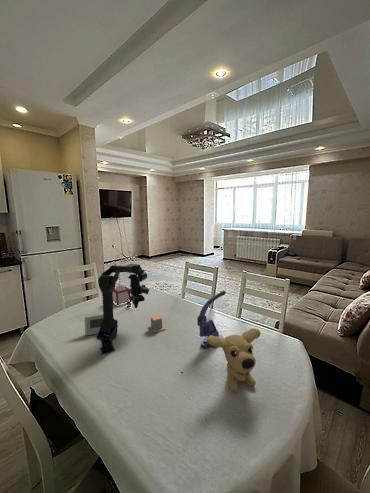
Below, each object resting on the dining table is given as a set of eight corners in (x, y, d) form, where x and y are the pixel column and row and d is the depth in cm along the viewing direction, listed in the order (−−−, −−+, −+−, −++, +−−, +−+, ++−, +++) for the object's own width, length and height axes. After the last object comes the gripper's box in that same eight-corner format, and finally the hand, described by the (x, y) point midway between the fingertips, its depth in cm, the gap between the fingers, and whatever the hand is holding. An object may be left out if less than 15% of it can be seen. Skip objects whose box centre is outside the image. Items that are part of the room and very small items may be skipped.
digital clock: (83, 336, 137) (82, 319, 135) (88, 328, 146) (87, 312, 144) (112, 334, 138) (110, 317, 137) (115, 327, 147) (114, 311, 146)
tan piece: (165, 329, 143) (164, 320, 142) (152, 333, 140) (152, 324, 139) (160, 324, 150) (159, 315, 149) (148, 327, 146) (147, 318, 146)
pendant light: (124, 298, 195) (122, 263, 191) (130, 302, 187) (128, 266, 182) (111, 302, 188) (109, 266, 184) (117, 306, 180) (115, 268, 175)
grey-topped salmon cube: (162, 328, 144) (161, 318, 143) (154, 330, 141) (153, 320, 140) (158, 324, 148) (158, 314, 147) (151, 326, 146) (150, 316, 145)
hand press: (205, 352, 120) (205, 300, 115) (194, 345, 127) (193, 295, 122) (230, 340, 131) (230, 292, 127) (218, 333, 138) (219, 288, 134)
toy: (219, 405, 87) (220, 356, 84) (201, 371, 106) (201, 330, 103) (276, 390, 94) (278, 344, 91) (249, 361, 113) (251, 322, 110)
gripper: (152, 286, 140) (153, 310, 143) (143, 278, 157) (144, 300, 159) (134, 289, 136) (135, 314, 138) (126, 280, 152) (127, 303, 154)
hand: (136, 307), depth 147 cm, fingers closed
